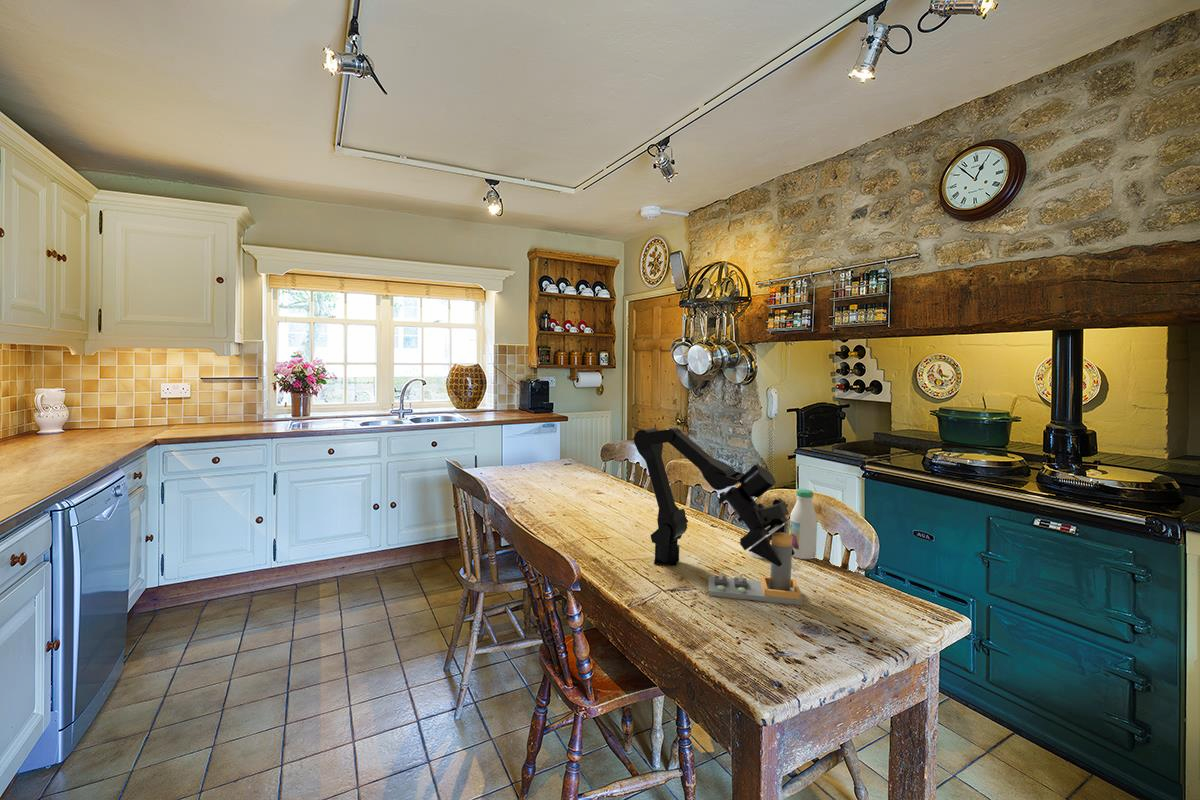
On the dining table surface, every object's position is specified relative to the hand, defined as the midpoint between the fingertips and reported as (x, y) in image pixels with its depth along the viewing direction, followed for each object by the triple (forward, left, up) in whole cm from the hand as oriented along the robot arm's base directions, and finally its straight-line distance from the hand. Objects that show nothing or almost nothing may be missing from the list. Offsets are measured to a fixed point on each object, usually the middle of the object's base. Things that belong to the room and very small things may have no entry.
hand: (787, 559), depth 127 cm
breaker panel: (-8, +1, -9) cm, 12 cm away
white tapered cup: (-4, +28, -10) cm, 29 cm away
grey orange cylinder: (-1, +1, -8) cm, 8 cm away
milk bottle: (+9, +31, -10) cm, 33 cm away
